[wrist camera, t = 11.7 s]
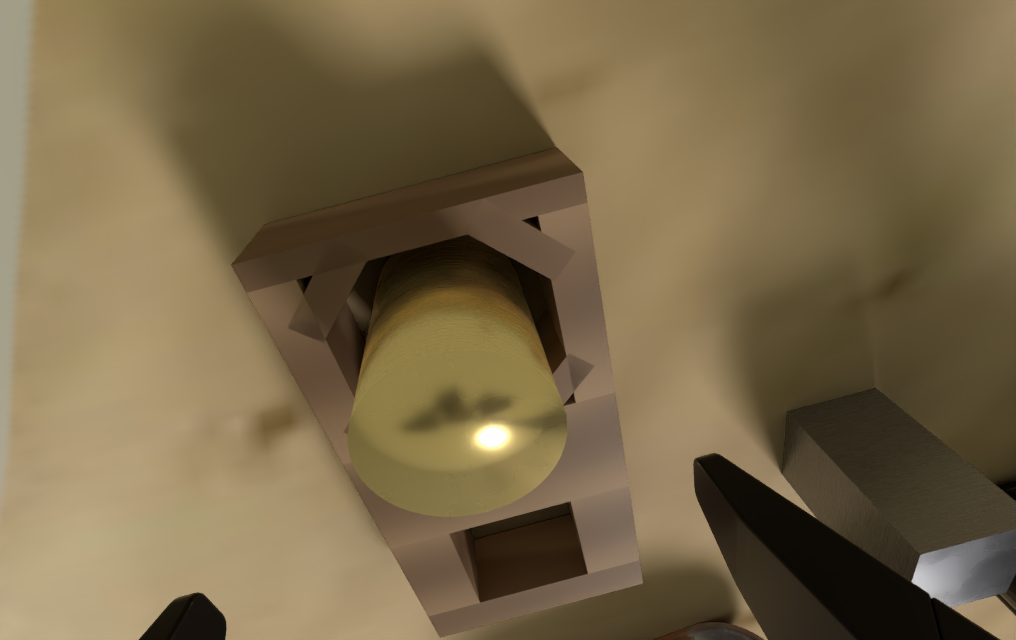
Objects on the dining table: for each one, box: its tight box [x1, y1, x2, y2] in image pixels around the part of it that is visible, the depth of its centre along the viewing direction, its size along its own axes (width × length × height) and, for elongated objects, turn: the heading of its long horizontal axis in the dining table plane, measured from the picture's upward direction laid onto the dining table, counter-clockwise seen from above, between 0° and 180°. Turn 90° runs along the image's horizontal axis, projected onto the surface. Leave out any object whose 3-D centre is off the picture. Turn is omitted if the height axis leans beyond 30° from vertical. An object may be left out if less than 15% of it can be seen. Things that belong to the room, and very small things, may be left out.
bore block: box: [231, 147, 643, 638], centre depth 19 cm, size 18×9×3 cm, turn 13°
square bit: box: [782, 388, 1016, 607], centre depth 20 cm, size 4×4×7 cm
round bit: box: [348, 234, 567, 517], centre depth 14 cm, size 5×5×7 cm
